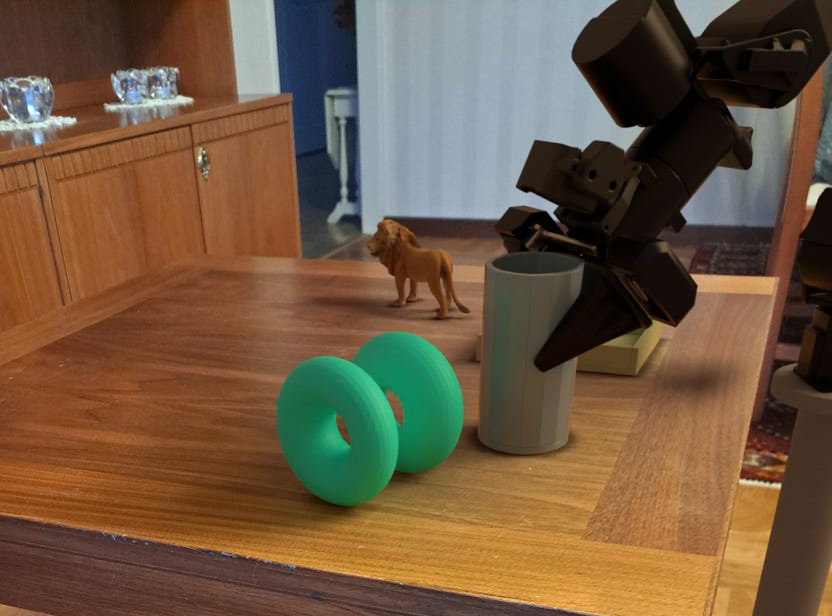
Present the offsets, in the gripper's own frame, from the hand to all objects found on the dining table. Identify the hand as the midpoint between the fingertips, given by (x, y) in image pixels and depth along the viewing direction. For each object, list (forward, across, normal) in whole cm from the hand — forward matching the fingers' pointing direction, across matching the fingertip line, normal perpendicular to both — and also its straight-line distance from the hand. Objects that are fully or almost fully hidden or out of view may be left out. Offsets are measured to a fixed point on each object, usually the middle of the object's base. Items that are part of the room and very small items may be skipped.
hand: (511, 355), depth 70 cm
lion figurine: (-3, -41, +13) cm, 43 cm away
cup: (+4, 0, +6) cm, 7 cm away
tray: (-8, -18, +17) cm, 26 cm away
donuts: (+14, +3, -4) cm, 15 cm away
